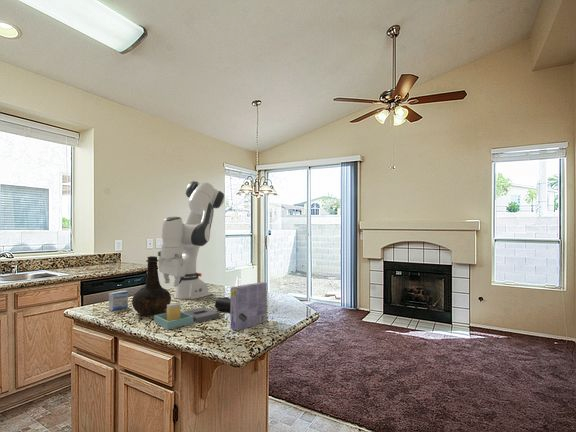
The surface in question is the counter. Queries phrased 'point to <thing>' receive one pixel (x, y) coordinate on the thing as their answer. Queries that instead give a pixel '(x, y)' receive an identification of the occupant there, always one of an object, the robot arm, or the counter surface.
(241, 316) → the cake pan box
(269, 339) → the counter surface
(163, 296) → the dark brown vase
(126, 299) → the medicine box
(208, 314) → the socket block
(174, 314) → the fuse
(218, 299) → the end cap
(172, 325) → the parts tray
